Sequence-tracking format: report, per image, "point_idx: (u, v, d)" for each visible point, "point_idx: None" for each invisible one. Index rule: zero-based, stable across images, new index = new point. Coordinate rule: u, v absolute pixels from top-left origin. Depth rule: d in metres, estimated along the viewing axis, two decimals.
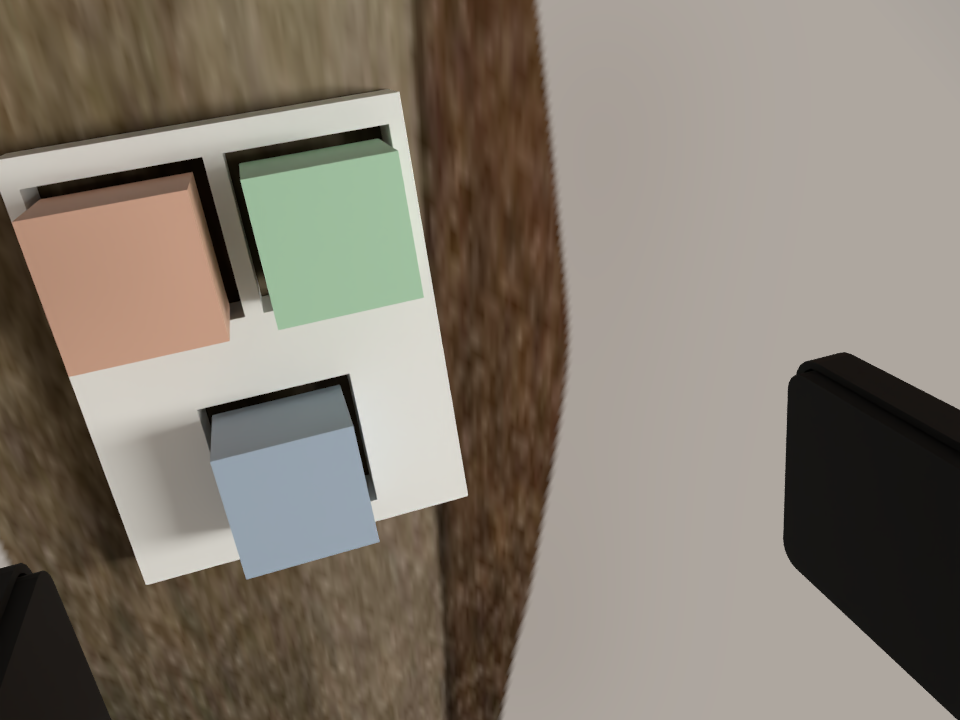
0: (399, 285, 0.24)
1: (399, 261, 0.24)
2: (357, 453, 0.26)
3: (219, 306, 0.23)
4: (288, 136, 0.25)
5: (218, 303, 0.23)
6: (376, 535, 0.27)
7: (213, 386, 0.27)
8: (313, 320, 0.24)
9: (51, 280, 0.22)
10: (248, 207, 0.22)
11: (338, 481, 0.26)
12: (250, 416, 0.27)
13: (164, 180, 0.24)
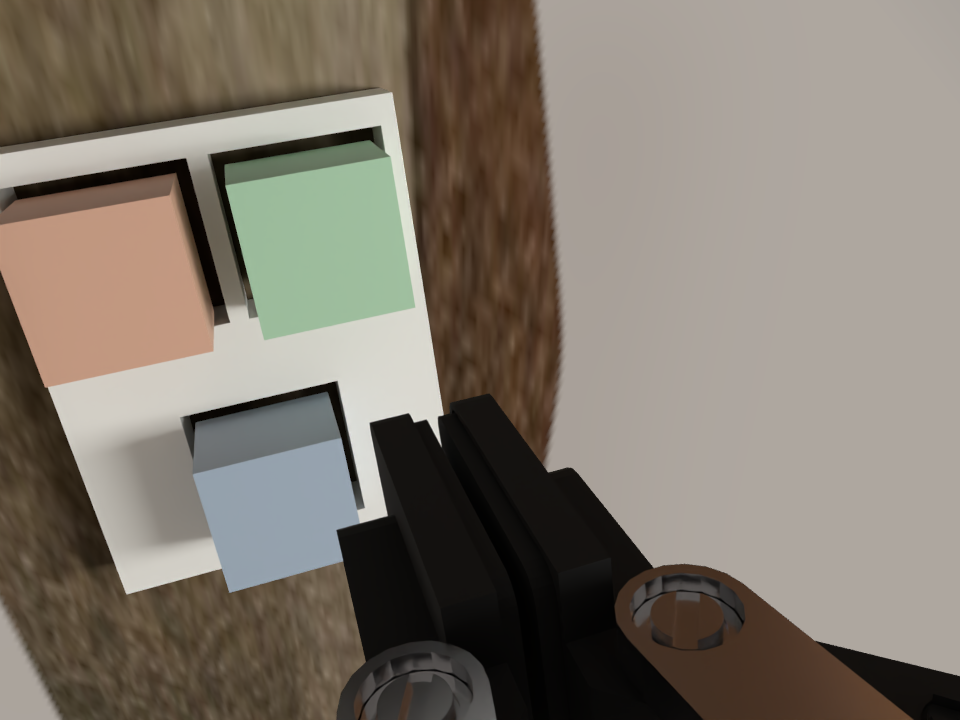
0: (390, 294, 0.24)
1: (390, 270, 0.23)
2: (345, 465, 0.25)
3: (203, 315, 0.22)
4: (276, 137, 0.24)
5: (202, 312, 0.22)
6: None
7: (196, 393, 0.26)
8: (300, 330, 0.23)
9: (26, 288, 0.21)
10: (233, 214, 0.22)
11: (325, 493, 0.25)
12: (235, 424, 0.26)
13: (146, 182, 0.23)
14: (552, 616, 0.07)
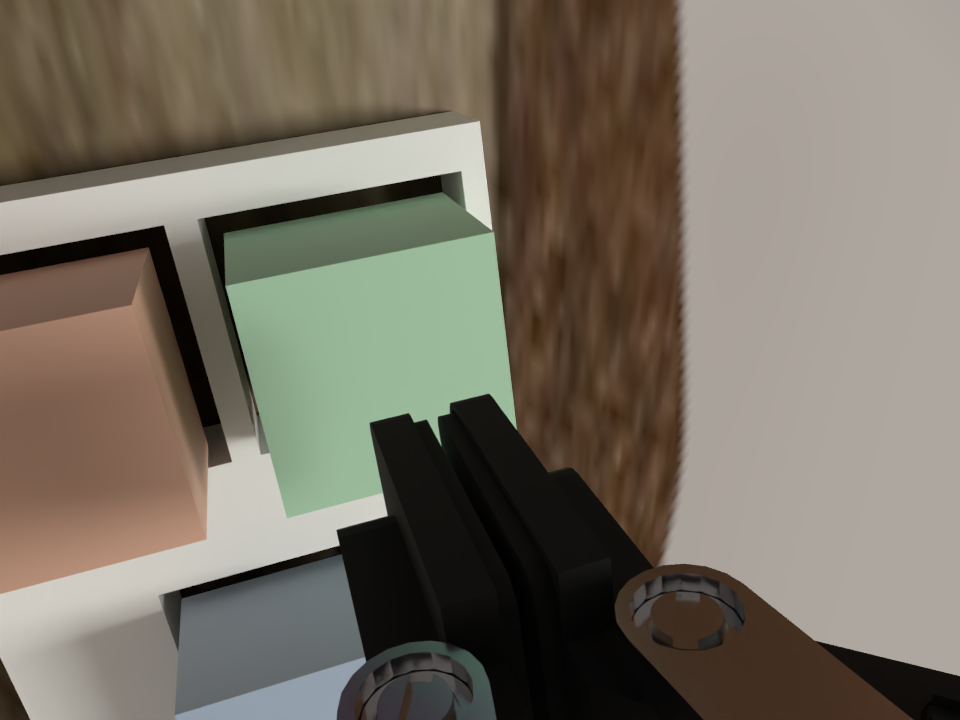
0: None
1: None
2: None
3: (189, 487, 0.14)
4: (303, 191, 0.16)
5: (187, 483, 0.14)
6: None
7: (183, 561, 0.18)
8: (344, 500, 0.15)
9: None
10: (239, 330, 0.13)
11: None
12: (239, 607, 0.18)
13: (100, 267, 0.15)
14: (552, 616, 0.07)
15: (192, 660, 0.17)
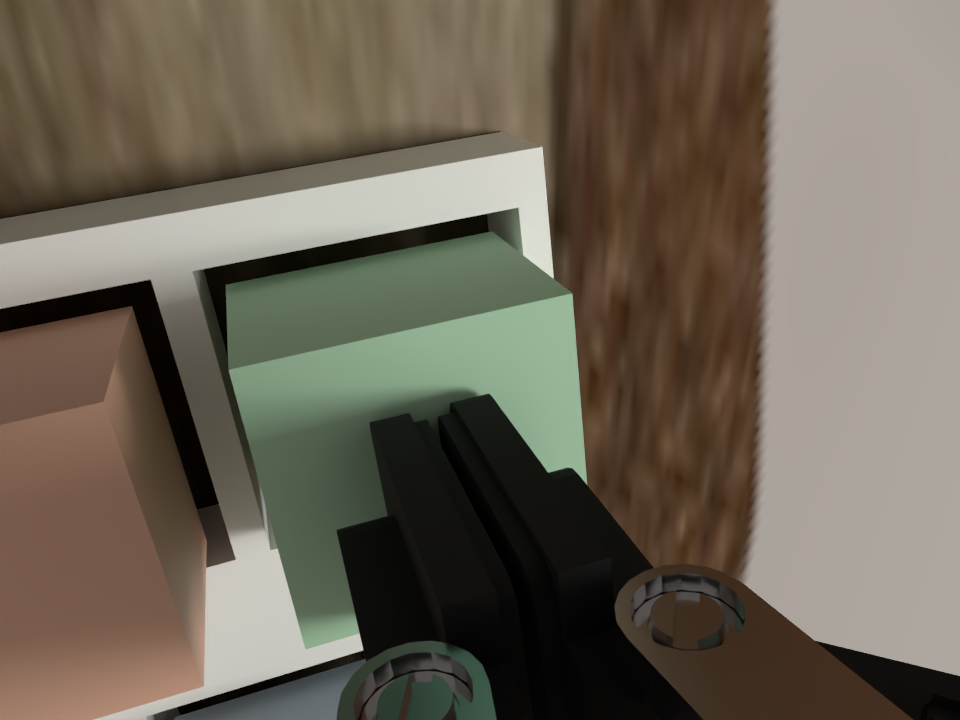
0: None
1: None
2: None
3: (181, 624, 0.11)
4: (325, 235, 0.13)
5: (179, 620, 0.11)
6: None
7: None
8: None
9: None
10: (246, 425, 0.10)
11: None
12: None
13: (68, 335, 0.12)
14: (552, 616, 0.07)
15: None
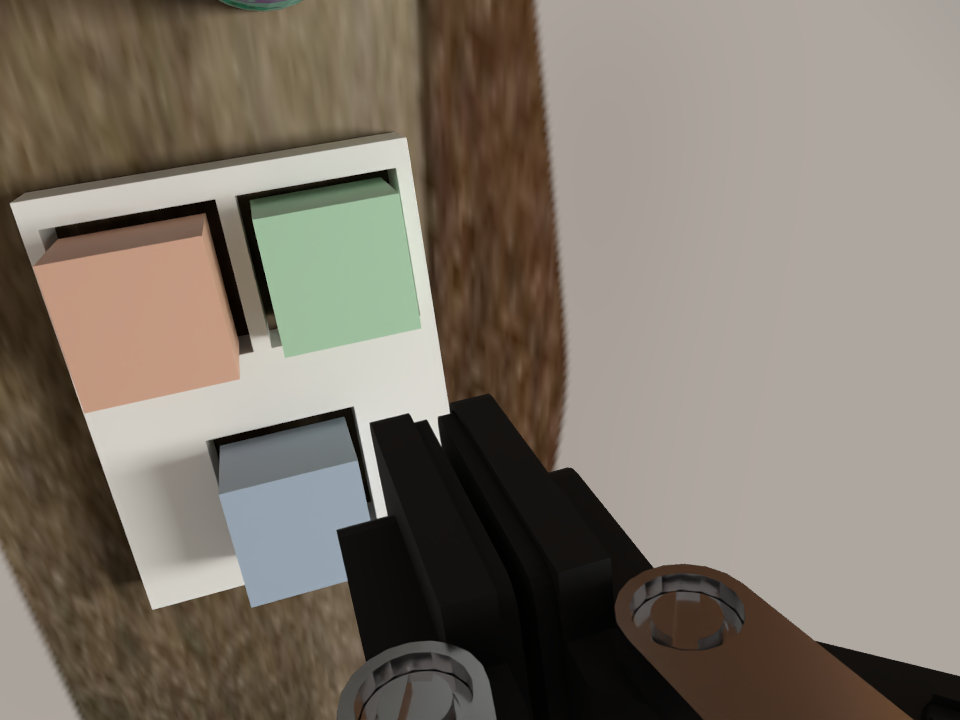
0: (398, 317, 0.26)
1: (398, 294, 0.26)
2: (361, 486, 0.27)
3: (230, 346, 0.24)
4: (298, 179, 0.26)
5: (229, 343, 0.24)
6: None
7: (221, 418, 0.28)
8: (317, 349, 0.26)
9: (69, 321, 0.23)
10: (259, 244, 0.24)
11: (342, 513, 0.27)
12: (257, 448, 0.28)
13: (178, 222, 0.25)
14: (552, 616, 0.07)
15: (228, 472, 0.27)
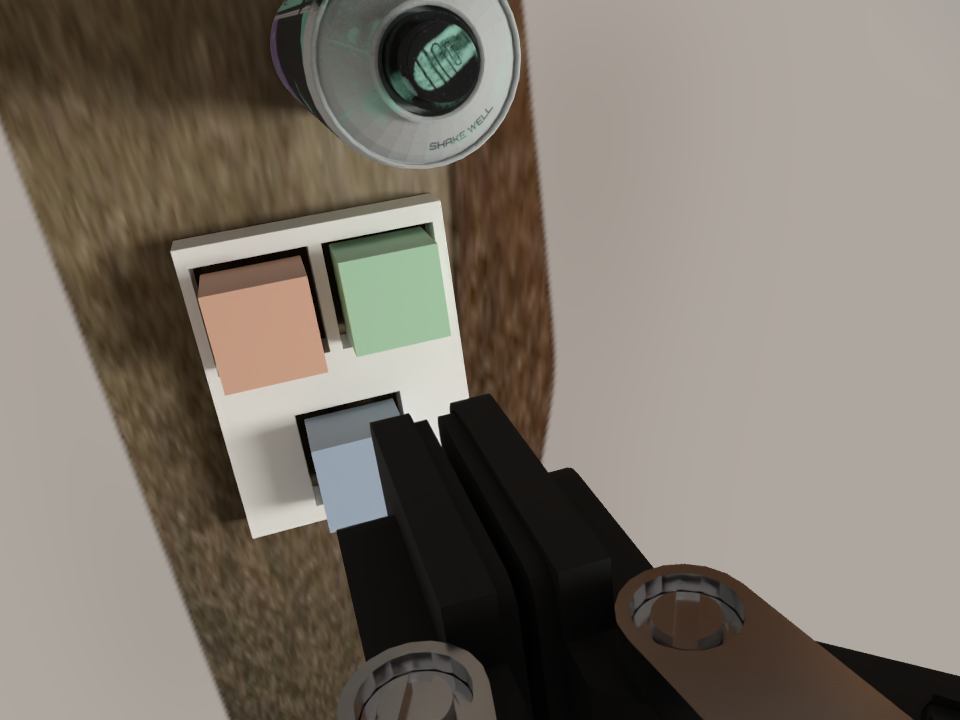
0: (435, 328, 0.37)
1: (435, 312, 0.37)
2: None
3: (322, 349, 0.35)
4: (365, 231, 0.37)
5: (322, 347, 0.35)
6: None
7: (306, 399, 0.39)
8: (379, 350, 0.37)
9: (219, 334, 0.34)
10: (342, 280, 0.35)
11: None
12: (332, 420, 0.39)
13: (283, 263, 0.36)
14: (552, 616, 0.07)
15: (314, 437, 0.38)
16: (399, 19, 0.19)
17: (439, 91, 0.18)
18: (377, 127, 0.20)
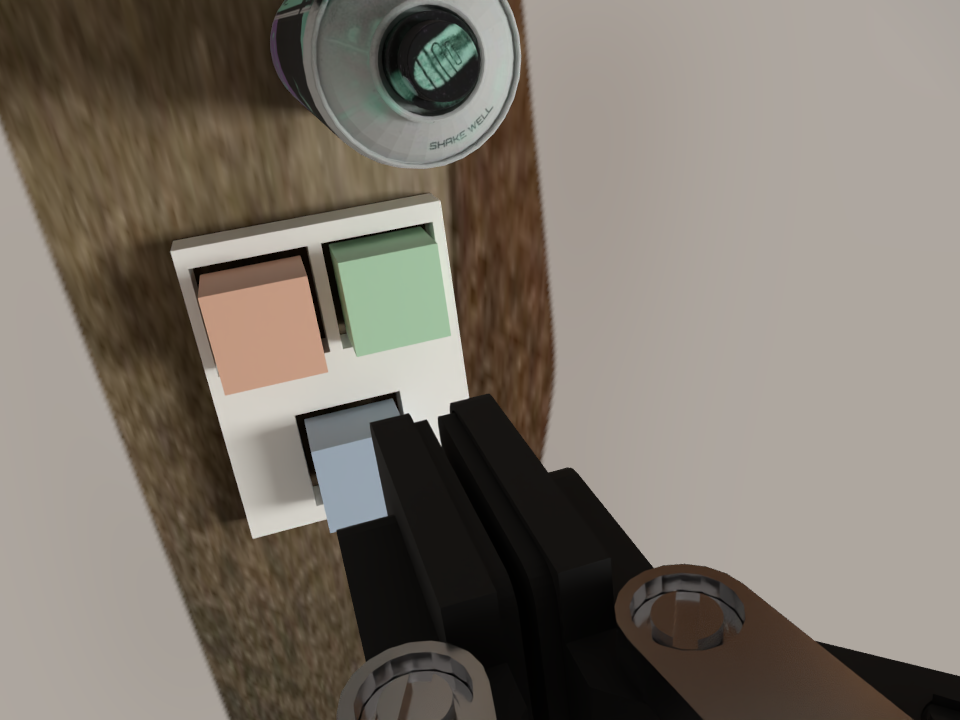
0: (435, 328, 0.37)
1: (435, 312, 0.37)
2: None
3: (322, 349, 0.35)
4: (365, 231, 0.37)
5: (322, 347, 0.35)
6: None
7: (306, 399, 0.39)
8: (379, 350, 0.37)
9: (219, 334, 0.34)
10: (342, 280, 0.35)
11: None
12: (332, 420, 0.39)
13: (283, 263, 0.36)
14: (552, 616, 0.07)
15: (314, 437, 0.38)
16: (399, 19, 0.19)
17: (439, 90, 0.18)
18: (376, 126, 0.20)
